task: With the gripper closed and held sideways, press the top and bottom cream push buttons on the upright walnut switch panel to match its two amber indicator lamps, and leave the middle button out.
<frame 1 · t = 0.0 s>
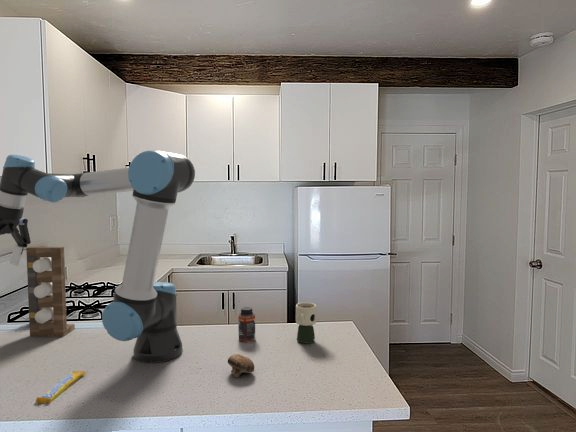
character mug: (305, 342, 147), on the counter
bottom button: (45, 314, 150), point 8 cm above the counter, slide at 0.0 cm
candy bar: (62, 390, 113), on the counter
mushroom: (240, 375, 122), on the counter
top button: (44, 264, 149), point 26 cm above the counter, slide at 0.0 cm
supplement bottle 2: (49, 321, 169), on the counter
switch panel: (46, 336, 151), on the counter
supplement bottle: (246, 340, 149), on the counter
middle button: (44, 289, 150), point 17 cm above the counter, slide at 0.0 cm
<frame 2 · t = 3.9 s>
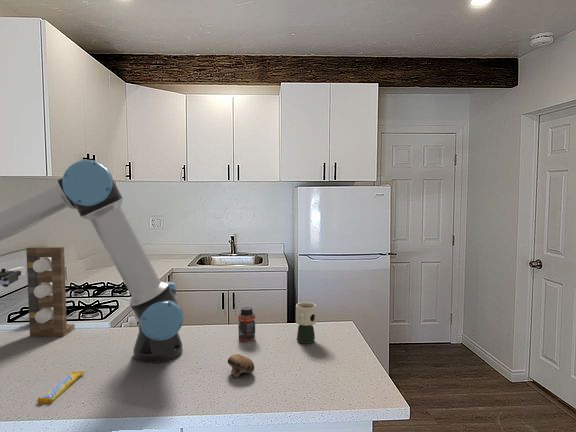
hand: (22, 270, 136), 26 cm above the counter, fingers closed
nothing on the counter moved.
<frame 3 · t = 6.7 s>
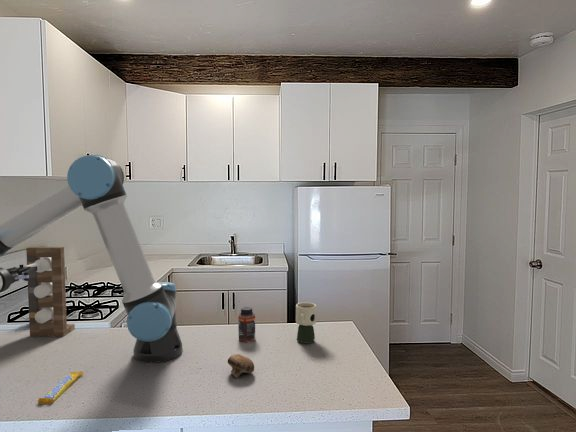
hand: (38, 266, 146), 26 cm above the counter, fingers closed
top button: (44, 264, 149), point 26 cm above the counter, slide at 0.2 cm, touching gripper
everything else where it was.
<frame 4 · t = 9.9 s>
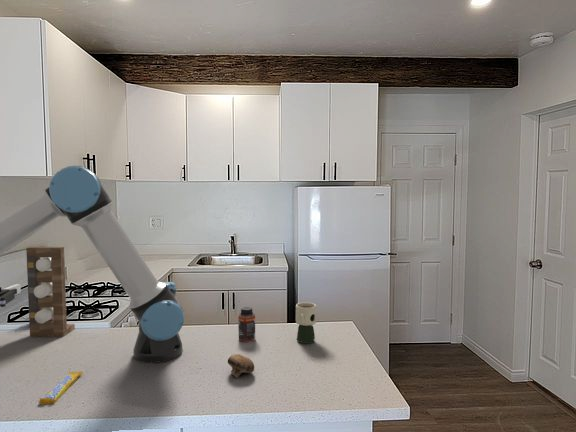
hand: (18, 288, 136), 21 cm above the counter, fingers closed
top button: (46, 263, 151), point 26 cm above the counter, slide at 1.8 cm
everything else where it was.
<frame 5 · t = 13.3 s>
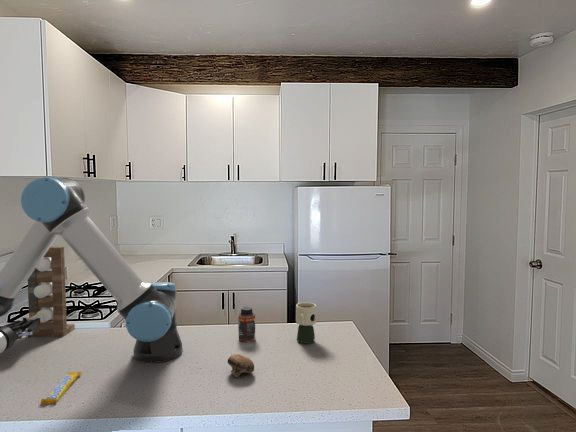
hand: (40, 317, 148), 8 cm above the counter, fingers closed
bottom button: (47, 314, 151), point 8 cm above the counter, slide at 0.7 cm, touching gripper
everything else where it was.
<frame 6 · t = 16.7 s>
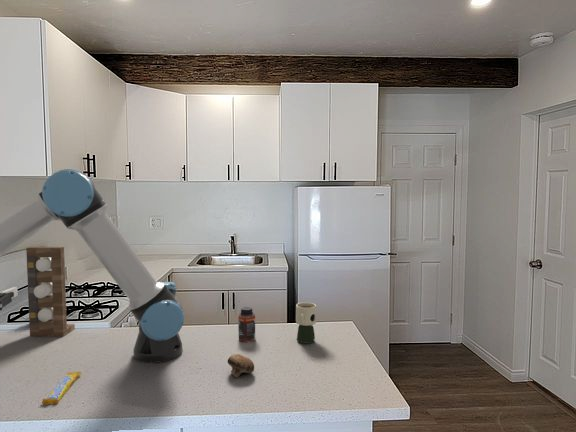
hand: (15, 291, 135), 20 cm above the counter, fingers closed
bottom button: (48, 313, 152), point 8 cm above the counter, slide at 1.8 cm
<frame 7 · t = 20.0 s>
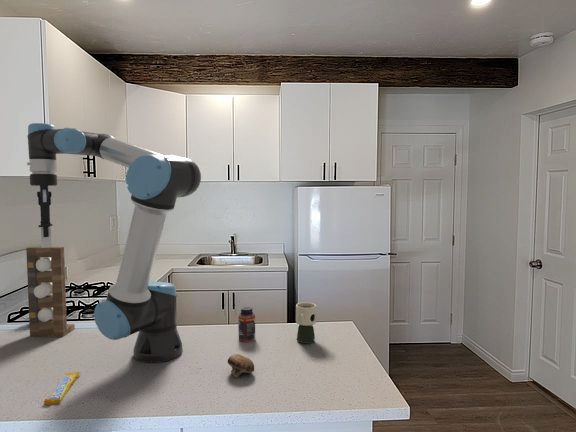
hand: (46, 246, 136), 34 cm above the counter, fingers closed
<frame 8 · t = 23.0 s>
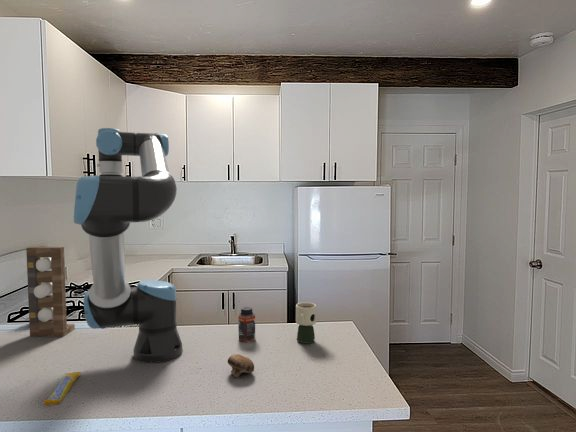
hand: (112, 241, 148), 34 cm above the counter, fingers closed
at the end: top button slide at 1.8 cm; bottom button slide at 1.8 cm; middle button slide at 0.0 cm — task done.
